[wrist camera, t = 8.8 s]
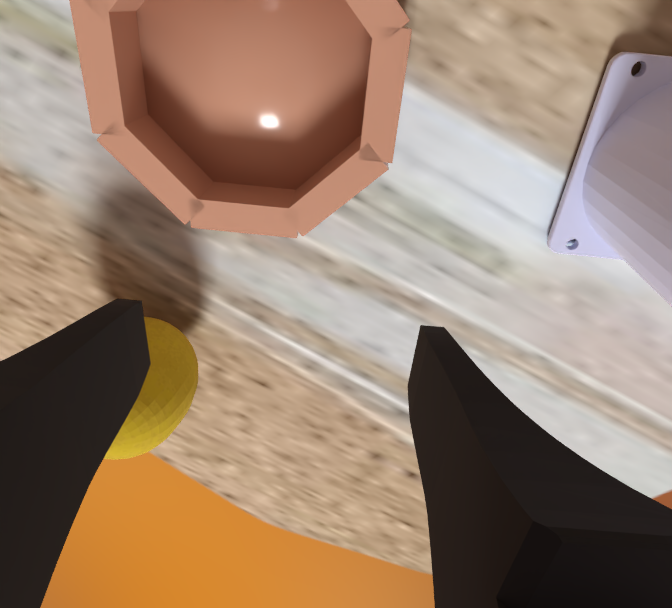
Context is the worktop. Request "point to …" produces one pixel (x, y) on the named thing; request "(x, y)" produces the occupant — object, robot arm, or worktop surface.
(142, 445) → the lemon
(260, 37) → the bowl
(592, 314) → the worktop surface
